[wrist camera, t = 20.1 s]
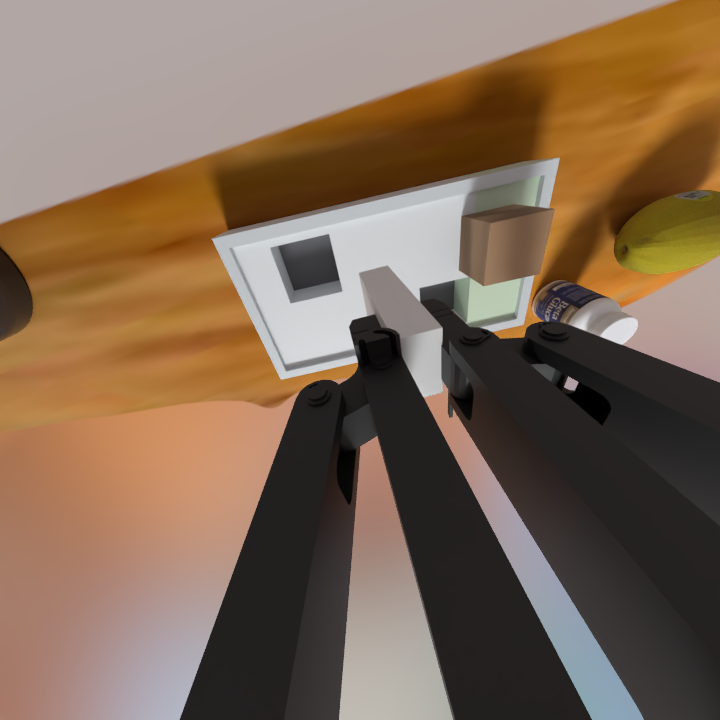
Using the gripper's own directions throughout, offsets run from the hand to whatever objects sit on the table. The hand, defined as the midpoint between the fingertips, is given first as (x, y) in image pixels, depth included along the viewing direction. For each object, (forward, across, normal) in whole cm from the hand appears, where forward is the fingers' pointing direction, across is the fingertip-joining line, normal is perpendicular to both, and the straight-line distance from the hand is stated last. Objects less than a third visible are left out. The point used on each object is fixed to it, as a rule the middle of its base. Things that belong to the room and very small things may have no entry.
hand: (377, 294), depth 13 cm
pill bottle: (+16, +25, -14) cm, 33 cm away
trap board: (+17, +4, -5) cm, 18 cm away
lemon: (+16, +34, -7) cm, 38 cm away
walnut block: (+12, +13, -3) cm, 18 cm away
